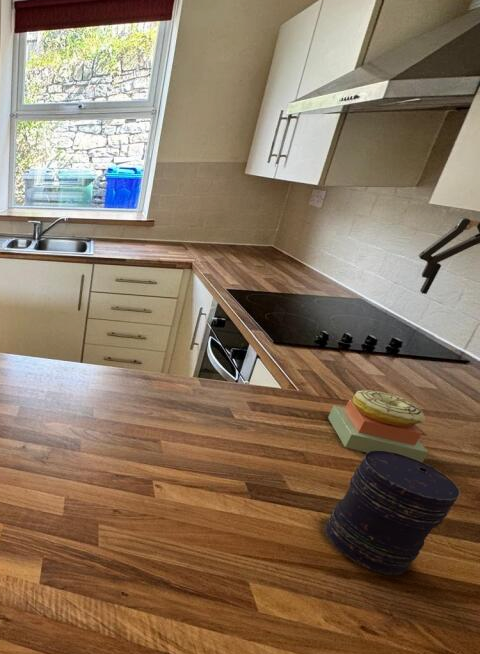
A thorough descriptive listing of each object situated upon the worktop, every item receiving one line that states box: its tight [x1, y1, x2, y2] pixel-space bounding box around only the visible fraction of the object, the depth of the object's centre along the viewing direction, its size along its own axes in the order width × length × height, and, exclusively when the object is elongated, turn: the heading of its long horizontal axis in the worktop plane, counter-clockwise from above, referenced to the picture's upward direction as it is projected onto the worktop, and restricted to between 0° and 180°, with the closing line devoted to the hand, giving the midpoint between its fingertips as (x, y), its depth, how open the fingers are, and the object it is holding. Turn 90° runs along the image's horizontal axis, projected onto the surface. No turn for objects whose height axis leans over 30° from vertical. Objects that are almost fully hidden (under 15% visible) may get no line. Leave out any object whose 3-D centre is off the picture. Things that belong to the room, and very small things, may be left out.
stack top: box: [344, 399, 423, 445], centre depth 86 cm, size 9×9×3 cm
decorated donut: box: [352, 389, 426, 427], centre depth 84 cm, size 10×11×4 cm
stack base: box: [327, 405, 429, 463], centre depth 87 cm, size 12×12×4 cm
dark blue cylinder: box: [324, 451, 461, 576], centre depth 60 cm, size 10×10×15 cm
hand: (467, 299), depth 87 cm, fingers open, 13 cm apart
